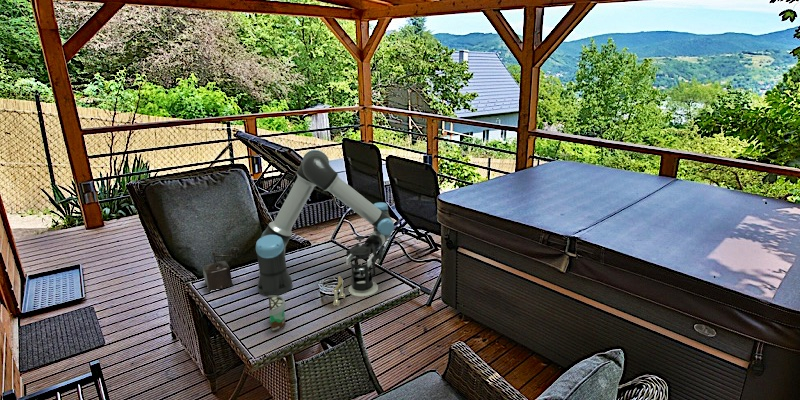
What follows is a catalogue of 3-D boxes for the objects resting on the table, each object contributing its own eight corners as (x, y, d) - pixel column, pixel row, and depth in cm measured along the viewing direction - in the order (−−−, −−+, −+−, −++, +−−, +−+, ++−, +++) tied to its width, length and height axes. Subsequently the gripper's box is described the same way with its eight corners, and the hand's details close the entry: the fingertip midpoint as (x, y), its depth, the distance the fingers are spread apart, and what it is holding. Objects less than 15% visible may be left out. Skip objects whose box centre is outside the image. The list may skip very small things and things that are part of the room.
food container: (289, 331, 170) (286, 308, 167) (272, 334, 168) (268, 311, 165) (287, 314, 181) (284, 292, 178) (271, 317, 179) (268, 295, 176)
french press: (357, 293, 191) (354, 244, 184) (346, 284, 198) (343, 236, 191) (380, 285, 197) (378, 236, 190) (369, 277, 205) (366, 230, 197)
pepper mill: (209, 293, 199) (203, 256, 194) (204, 284, 208) (198, 248, 203) (245, 283, 207) (239, 247, 202) (239, 274, 216) (233, 240, 211)
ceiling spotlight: (333, 305, 186) (332, 290, 184) (338, 289, 199) (337, 275, 197) (342, 305, 186) (341, 290, 184) (347, 289, 199) (345, 275, 197)
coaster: (346, 297, 192) (346, 295, 192) (350, 282, 205) (350, 281, 205) (377, 296, 192) (377, 295, 192) (379, 281, 204) (378, 280, 204)
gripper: (397, 251, 208) (382, 273, 188) (354, 247, 214) (334, 268, 194) (396, 236, 206) (381, 256, 185) (352, 232, 212) (333, 252, 191)
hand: (357, 262), depth 190 cm, fingers closed on french press, 9 cm apart
